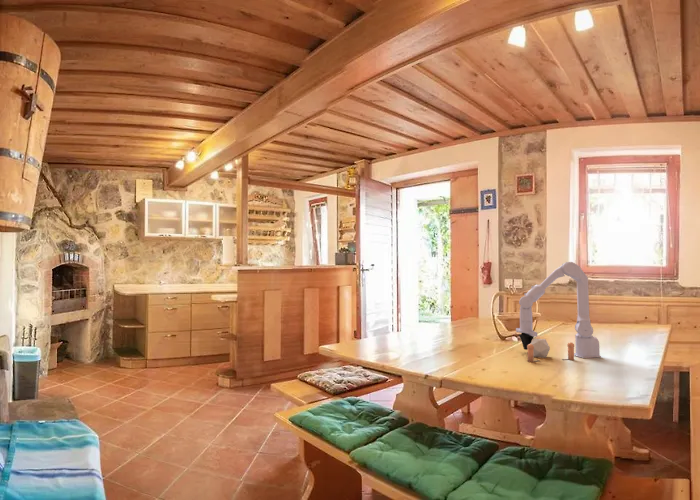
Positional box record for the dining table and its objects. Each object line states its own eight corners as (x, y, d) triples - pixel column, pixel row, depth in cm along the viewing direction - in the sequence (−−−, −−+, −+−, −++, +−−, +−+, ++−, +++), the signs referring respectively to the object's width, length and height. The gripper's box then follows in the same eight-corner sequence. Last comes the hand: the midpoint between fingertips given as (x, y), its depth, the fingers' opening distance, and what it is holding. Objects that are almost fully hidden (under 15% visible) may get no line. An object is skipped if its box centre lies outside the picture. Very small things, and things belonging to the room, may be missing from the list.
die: (551, 357, 196) (538, 338, 201) (557, 351, 189) (544, 331, 194) (535, 364, 195) (522, 345, 200) (540, 358, 188) (527, 338, 193)
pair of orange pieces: (571, 358, 190) (571, 341, 190) (576, 360, 187) (575, 342, 188) (525, 360, 186) (525, 343, 186) (529, 362, 183) (529, 344, 183)
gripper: (510, 319, 211) (510, 346, 211) (527, 323, 197) (528, 352, 196) (523, 319, 213) (523, 346, 212) (541, 322, 198) (541, 352, 198)
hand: (526, 349), depth 204 cm, fingers closed
